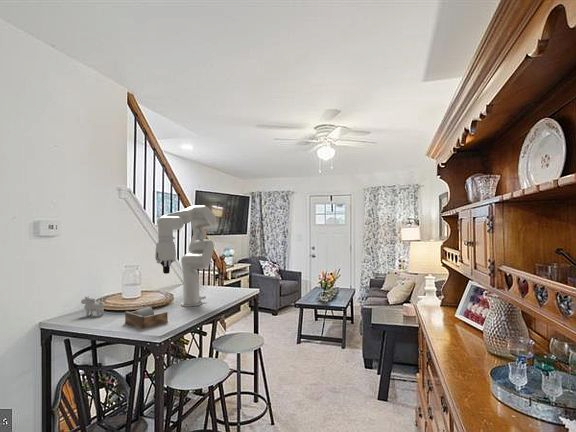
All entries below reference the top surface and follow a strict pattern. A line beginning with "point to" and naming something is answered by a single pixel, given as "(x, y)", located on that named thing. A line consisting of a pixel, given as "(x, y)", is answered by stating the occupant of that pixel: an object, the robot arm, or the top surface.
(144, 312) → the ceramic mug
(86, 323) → the top surface
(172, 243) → the robot arm
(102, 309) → the grey animal figurine
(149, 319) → the open wooden box
